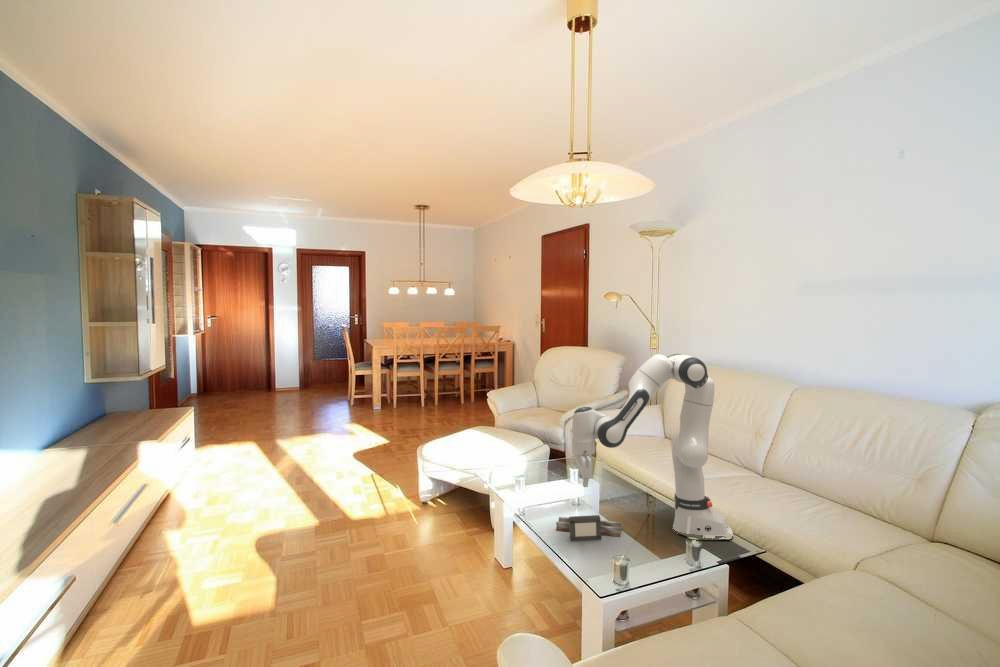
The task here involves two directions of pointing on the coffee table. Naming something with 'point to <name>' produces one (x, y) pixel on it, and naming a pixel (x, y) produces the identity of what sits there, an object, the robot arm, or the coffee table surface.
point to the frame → (585, 528)
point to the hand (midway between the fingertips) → (583, 482)
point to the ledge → (606, 527)
